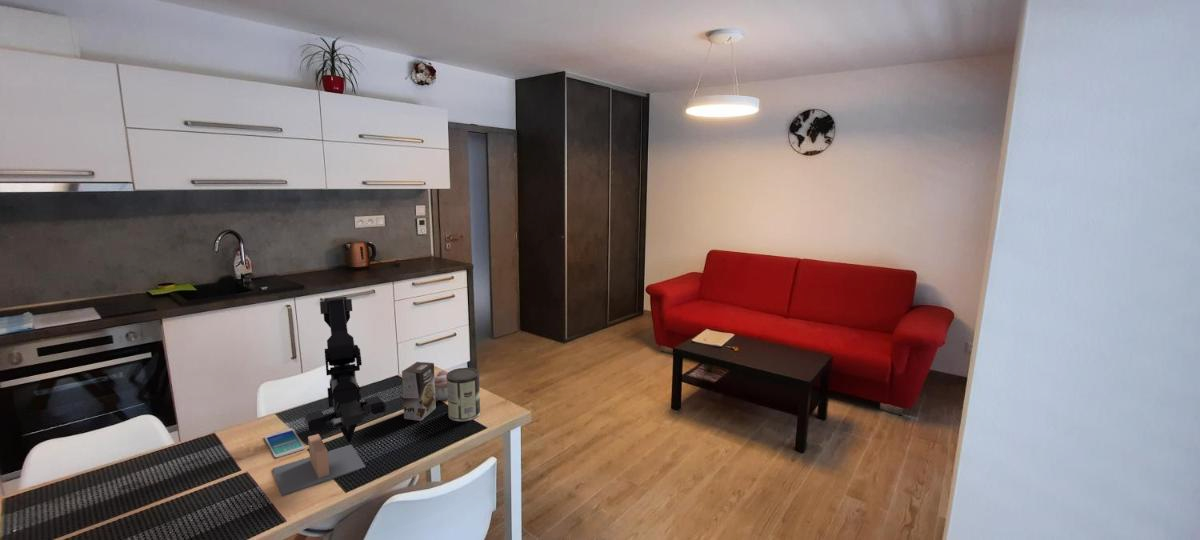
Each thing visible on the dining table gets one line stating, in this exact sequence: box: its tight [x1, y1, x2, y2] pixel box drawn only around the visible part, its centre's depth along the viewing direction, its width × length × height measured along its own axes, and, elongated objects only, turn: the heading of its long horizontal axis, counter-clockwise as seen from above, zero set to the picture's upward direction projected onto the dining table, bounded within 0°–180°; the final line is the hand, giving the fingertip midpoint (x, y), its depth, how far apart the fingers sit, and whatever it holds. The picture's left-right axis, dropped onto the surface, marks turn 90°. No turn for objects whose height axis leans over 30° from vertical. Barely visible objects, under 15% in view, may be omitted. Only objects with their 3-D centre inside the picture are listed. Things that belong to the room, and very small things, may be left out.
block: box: [307, 433, 329, 478], centre depth 129 cm, size 10×2×7 cm, turn 40°
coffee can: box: [446, 367, 481, 423], centre depth 160 cm, size 10×10×14 cm
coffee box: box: [401, 361, 437, 422], centre depth 159 cm, size 9×6×16 cm
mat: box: [272, 444, 367, 497], centre depth 130 cm, size 14×19×1 cm
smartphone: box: [264, 427, 306, 459], centre depth 142 cm, size 7×1×15 cm
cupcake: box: [434, 369, 449, 401], centre depth 173 cm, size 9×9×10 cm
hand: (348, 442), depth 134 cm, fingers closed
